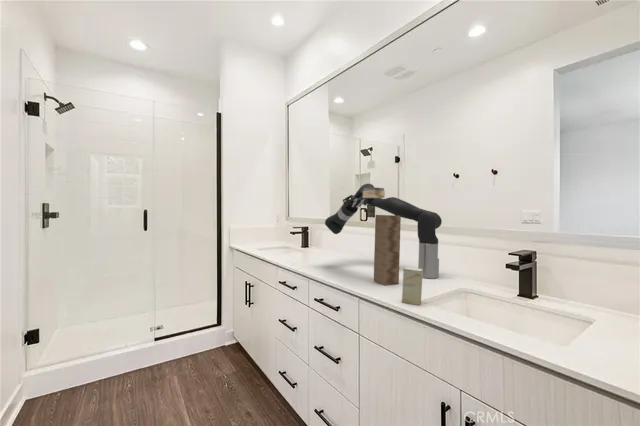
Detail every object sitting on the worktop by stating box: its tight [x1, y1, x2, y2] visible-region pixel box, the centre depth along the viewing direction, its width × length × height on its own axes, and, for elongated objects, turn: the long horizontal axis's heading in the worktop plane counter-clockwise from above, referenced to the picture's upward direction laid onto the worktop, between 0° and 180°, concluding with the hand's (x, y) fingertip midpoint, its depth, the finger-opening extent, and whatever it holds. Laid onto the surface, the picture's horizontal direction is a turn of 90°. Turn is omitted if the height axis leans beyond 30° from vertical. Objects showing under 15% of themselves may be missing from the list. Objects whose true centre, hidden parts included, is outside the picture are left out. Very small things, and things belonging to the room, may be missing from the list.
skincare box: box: [401, 266, 423, 306], centre depth 105 cm, size 6×4×12 cm
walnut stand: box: [373, 214, 402, 287], centre depth 133 cm, size 8×8×31 cm
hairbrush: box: [355, 186, 386, 199], centre depth 133 cm, size 6×16×4 cm, turn 25°
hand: (364, 192), depth 136 cm, fingers closed on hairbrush, 2 cm apart
